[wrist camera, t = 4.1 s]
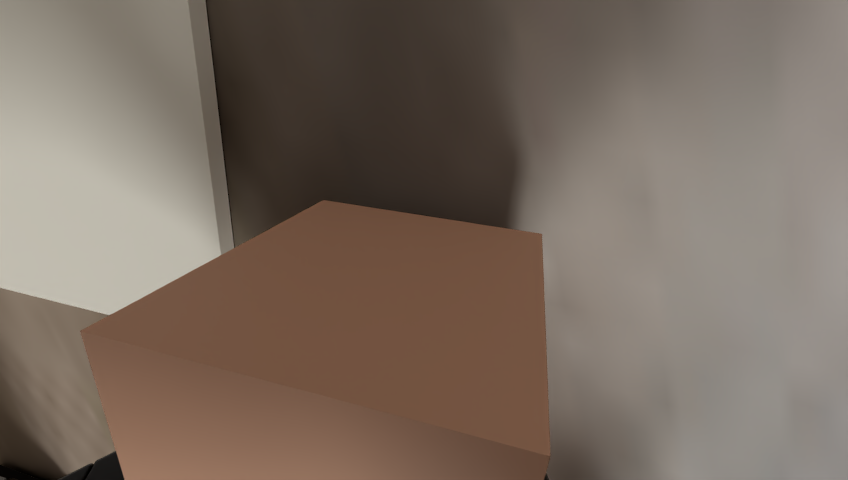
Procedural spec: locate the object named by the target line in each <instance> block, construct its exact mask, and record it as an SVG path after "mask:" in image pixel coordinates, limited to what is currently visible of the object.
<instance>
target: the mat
mask: <svg viewBox="0 0 848 480" xmlns="http://www.w3.org/2000/svg"><path fill="white" fill-rule="evenodd" d="M233 248H234V242H233V234H232V225H231V217H230V208H229V199H228V191H227V182H226V173H225V165H224V156H223V148H222V139H221V130H220V122H219V113H218V104H217V96H216V87H215V79H214V70H213V61H212V53H211V44H210V35H209V27H208V18H207V9H206V1H205V0H0V288H4V289H8V290H12V291H16V292H20V293H24V294H28V295H32V296H36V297H39V298H43V299H47V300H51V301H55V302H59V303H63V304H67V305H71V306H75V307H79V308H83V309H87V310H91V311H95V312H99V313H103V314H107V315H111V314H113V313H115V312H116V311H118V310H120V309H122V308H124V307H126V306H128V305H129V304H131V303H133V302H135V301H137V300H139V299H141V298H142V297H144V296H146V295H148V294H150V293H152V292H154V291H155V290H157V289H159V288H161V287H163V286H165V285H167V284H168V283H170V282H172V281H174V280H176V279H178V278H180V277H181V276H183V275H185V274H187V273H189V272H191V271H193V270H194V269H196V268H198V267H200V266H202V265H204V264H206V263H207V262H209V261H211V260H213V259H215V258H217V257H219V256H220V255H222V254H224V253H226V252H228V251H230V250H232V249H233Z"/></svg>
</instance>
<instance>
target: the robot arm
mask: <svg viewBox="0 0 848 480" xmlns="http://www.w3.org/2000/svg"><path fill="white" fill-rule="evenodd" d="M0 480H39V479H37V478H34V477H31V476H29V475H26V474H23V473H21V472H18V471H15V470H13V469H10V468H7V467H5V466H2V465H0ZM58 480H124V476H123V473H122V470H121V466H120V463H119V459H118V456H117V453H116V451H115V452H113V453H111V454H109V455H107V456H105V457H103V458H101V459H99V460H97V461H96V462H95V463H94V464H92V463H91V464H88V465H86V466H84V467H82V468H80V469H78V470H76V471H74V472H72V473H70V474H68V475H66V476H64V477H62V478H60V479H58ZM544 480H549V478H548V476H547V474H546V475H545V478H544Z"/></svg>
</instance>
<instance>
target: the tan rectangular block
mask: <svg viewBox="0 0 848 480" xmlns="http://www.w3.org/2000/svg"><path fill="white" fill-rule="evenodd" d="M80 332H81V335H82V339H83V342H84V345H85V349H86V352H87V355H88V359H89V362H90V365H91V369H92V372H93V376H94V379H95V382H96V386H97V389H98V392H99V396H100V399H101V402H102V406H103V409H104V412H105V416H106V419H107V423H108V426H109V429H110V433H111V436H112V439H113V443H114V446H115V449H116V453H117V456H118V459H119V463H120V466H121V470H122V473H123V476H124V480H544V478H545V475H546V471H547V467H548V464H549V460H550V431H549V405H548V379H547V353H546V328H545V302H544V276H543V250H542V234H539V233H533V232H526V231H520V230H513V229H507V228H501V227H494V226H488V225H481V224H475V223H468V222H462V221H455V220H449V219H443V218H436V217H430V216H423V215H417V214H410V213H404V212H397V211H391V210H385V209H378V208H372V207H365V206H359V205H352V204H346V203H339V202H333V201H326V200H323V201H321V202H319V203H317V204H315V205H313V206H311V207H310V208H308V209H306V210H304V211H302V212H300V213H298V214H297V215H295V216H293V217H291V218H289V219H287V220H285V221H284V222H282V223H280V224H278V225H276V226H274V227H272V228H271V229H269V230H267V231H265V232H263V233H261V234H259V235H258V236H256V237H254V238H252V239H250V240H248V241H246V242H245V243H243V244H241V245H239V246H237V247H235V248H233V249H232V250H230V251H228V252H226V253H224V254H222V255H220V256H219V257H217V258H215V259H213V260H211V261H209V262H207V263H206V264H204V265H202V266H200V267H198V268H196V269H194V270H193V271H191V272H189V273H187V274H185V275H183V276H181V277H180V278H178V279H176V280H174V281H172V282H170V283H168V284H167V285H165V286H163V287H161V288H159V289H157V290H155V291H154V292H152V293H150V294H148V295H146V296H144V297H142V298H141V299H139V300H137V301H135V302H133V303H131V304H129V305H128V306H126V307H124V308H122V309H120V310H118V311H116V312H115V313H113V314H111V315H109V316H107V317H105V318H103V319H102V320H100V321H98V322H96V323H94V324H92V325H90V326H89V327H87V328H85V329H83V330H81V331H80Z"/></svg>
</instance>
